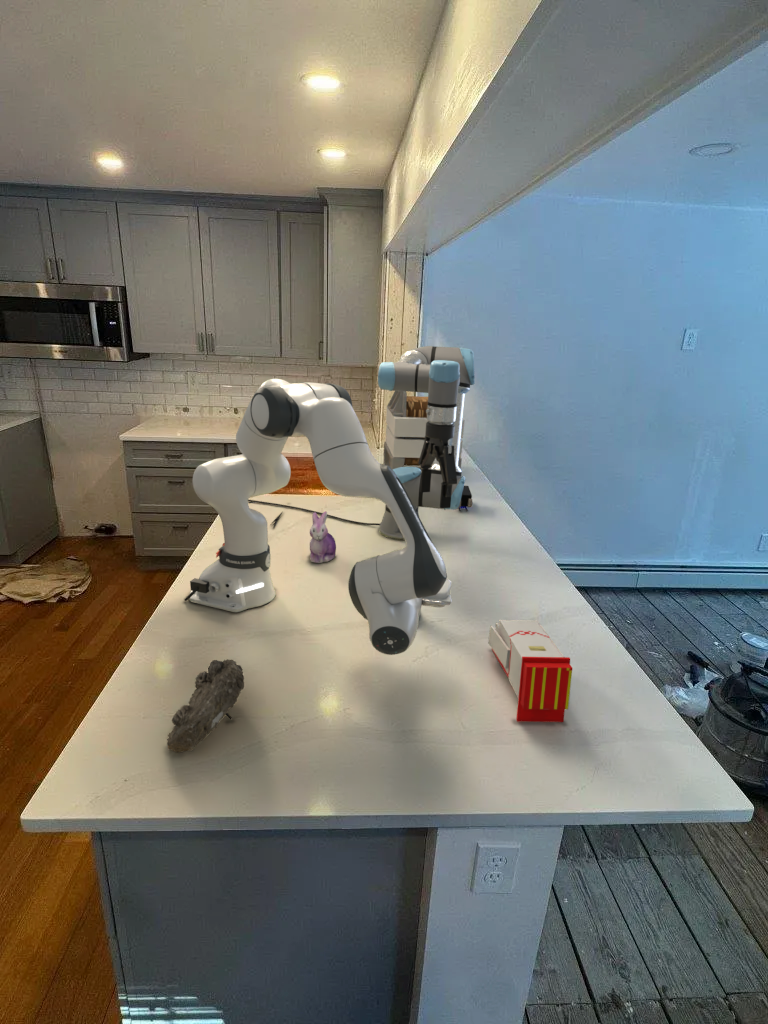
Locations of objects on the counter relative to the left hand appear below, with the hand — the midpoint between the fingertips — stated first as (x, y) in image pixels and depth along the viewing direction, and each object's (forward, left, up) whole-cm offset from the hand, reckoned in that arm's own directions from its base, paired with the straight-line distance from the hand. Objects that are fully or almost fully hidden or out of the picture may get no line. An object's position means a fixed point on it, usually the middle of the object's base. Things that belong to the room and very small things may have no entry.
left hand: (408, 571), depth 130 cm
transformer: (-10, +147, -18) cm, 149 cm away
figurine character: (+11, +102, -18) cm, 104 cm away
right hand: (+3, +29, +8) cm, 31 cm away
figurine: (-31, +40, -18) cm, 54 cm away
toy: (+27, -10, -18) cm, 34 cm away
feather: (-55, +73, -18) cm, 93 cm away
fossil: (-33, -35, -18) cm, 51 cm away
